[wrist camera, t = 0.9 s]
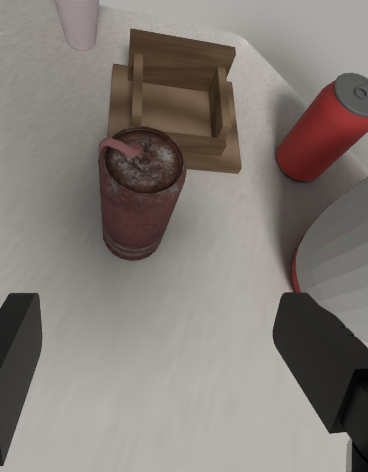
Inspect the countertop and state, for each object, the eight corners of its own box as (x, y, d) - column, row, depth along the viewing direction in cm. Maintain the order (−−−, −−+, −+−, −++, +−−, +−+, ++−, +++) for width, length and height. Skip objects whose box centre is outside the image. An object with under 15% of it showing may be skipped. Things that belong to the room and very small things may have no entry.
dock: (237, 173, 40) (262, 136, 33) (106, 161, 37) (105, 117, 30) (228, 88, 45) (248, 42, 38) (113, 71, 42) (113, 17, 35)
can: (109, 202, 35) (108, 109, 22) (165, 217, 36) (195, 135, 23) (93, 253, 32) (81, 181, 20) (154, 268, 33) (180, 208, 20)
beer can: (328, 166, 44) (400, 100, 33) (302, 192, 41) (371, 130, 30) (292, 134, 44) (351, 59, 33) (264, 158, 42) (318, 85, 31)
